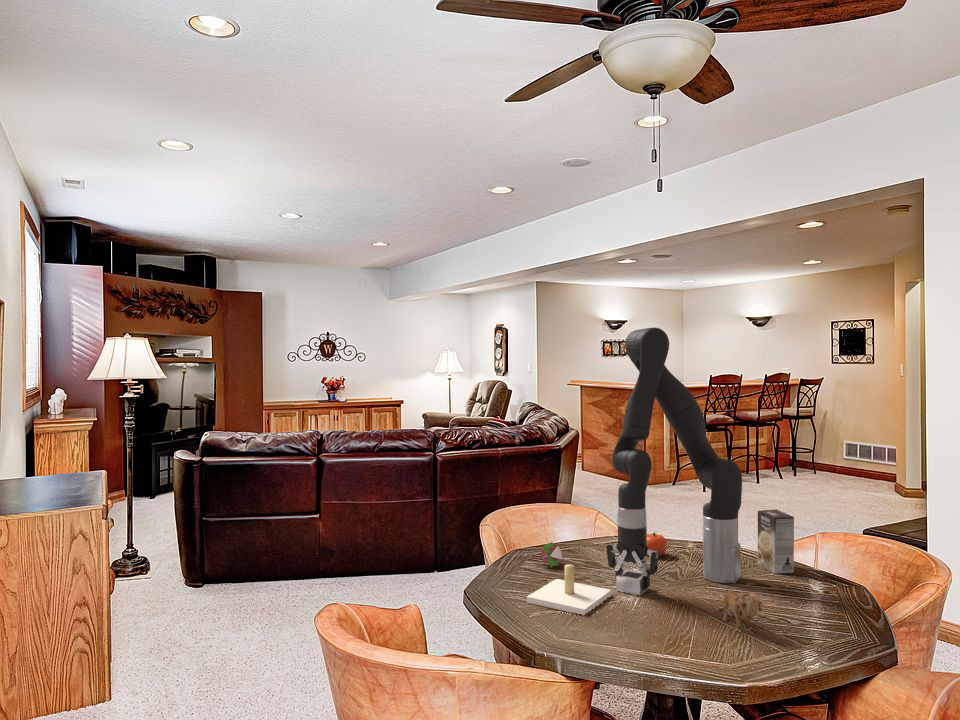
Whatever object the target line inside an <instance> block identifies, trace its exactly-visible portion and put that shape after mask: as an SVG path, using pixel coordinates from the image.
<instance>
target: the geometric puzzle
mask: <svg viewBox="0 0 960 720" xmlns="http://www.w3.org/2000/svg"><path fill="white" fill-rule="evenodd" d="M542 547H543V548H541V549H540V553H541V555H542V557H541V558H540V557H539V558H538V560H541V561H542V559H543V562H544V564H545V565H546V563H547V564H548V565H549V568H550V567H551V568H553V567H552V566H554V567H556V566H558V565H557V564H559V565H560V563H561V562H562V561H563V555H564V552H563V550H562V549H561V547H560V546H559V545H558V544H554V542H553V541H551V542H548V543H546V544H543V546H542ZM555 565H556V566H555Z"/></svg>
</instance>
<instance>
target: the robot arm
mask: <svg viewBox="0 0 960 720" xmlns="http://www.w3.org/2000/svg"><path fill="white" fill-rule="evenodd" d="M624 347H625V348H624V349H625V352H626V354H627V356H628V359H630V361H631V363H632V364H633V365H634V366H635V368H636V369H637V370H638V372H639V373H638V377H637V379H636V382H635V385H634V387H633V389H632V391H631V393H630V396H629V397H628V400H627V402H626V406H625V411H624V416H623V423H622V431H621V433H620V434H619V437H618V440H617V441H616V444H615V446H614V449H613V452H612V455H611V456H612V458H611V459H612V460H611V462H612V466H613V469H615V471H616V472H617V473H620V474H623V475H628V476H629V479H628V482H627V483H626V482H625V483H622V484H620V486H619V487H618V493H617V495H618V496H617V498H618V506H617V507H618V509H617V517H616V518H617V519H616V522H617V543H616V544H614V543H612V542H611V543H609V544H607V545H606V556H607V566H608V568H611V569H614V571H615V577H616V576H617V575H619V574H620V573H622V572H623V571H624V569H623V567H624V565H625V564H626V563H633V564H635V565H637V566H638V568H639V569H640V572H642V573H643V576H642V578H643V590H646V589H648V587H649V588H650V586H651V576H653V575H656V573H657V572H658V565H659V557H660V556H659V551H658V550H655V551H652V550H649V549H648V547H647V534H648V532H647V531H648V530H647V527H648V524H647V521H648V520H647V519H648V518H647V509H646V492H647V487H648V484H649V480H650V475H651V472H652V467H653V466H652V459H651V456H650V455H649V453H648V451H645V450H643V449H638V448H636V447H637V445H638V443H639V442H641V441H646V440H648V438H649V437H650V436H649V435H650V432H651V424H652V415H653V411H654V404H655V400H656V401H657V403H658V405H659V406H660V408H661V411H662V412H663V414H664V416H665V418H666V419H667V421H668V423H669V425H670V427H671V428H672V430H673V432H674V433H675V435H676V437H677V438H678V440H679V442H680V444H681V445H682V447H683V448H684V450H685V452H686V454H687V456H688V459H689V461H690V463H691V466H692V468H693V470H694V472H695V474H696V477H697V479H698V480H699V482H700V484H701V485H703V486H704V487H705V488H707V489H709V490H710V500H709V502H707V503H704V504H703V506H702V553H703V554H702V555H703V556H702V559H703V561H702V564H703V565H702V566H703V567H702V570H703V575H702V576H703V577H704V579H705V580H708V581H711V582H714V583H722V584H723V583H724V584H736V583H737V582H738V581H739V580H740V579H741V577H742V575H741V569H742V568H741V543H740V542H739V511H740V509H741V506H742V494H743V491H742V490H743V476H742V470H741V468H740V466H739V464H737V463H736V462H734V461H733V460H729V459H726V458H721V457H720V456H719V455H718V454H717V452H716V451H715V449H714V448H713V446H712V445H711V443H710V442H709V439H708V436H707V434H706V430H707V429H706V422H705V417H704V413H703V411H702V409H701V407H700V405H699V403H698V402H697V399H696V397H694V394H693V393H692V392H691V390H689V389H688V387H687V386H686V385H685V384H684V383H682V382H681V380H679V379H678V378H677V377H676V376H674V374H673V373H672V372H670V371H669V369H668V368H667V367H666V364H665V363H666V360H667V358H668V354H669V351H670V340H669V337H668V335H667V332H665V331H664V330H663V329H661V328H659V327H646V328H641V329H636V330H633V331H630V332H629V333H628V335H627V336H626V338H625V341H624ZM616 552H618V554H619V555H620V556H619V558H618V560H616ZM647 554H648V555H647ZM646 556H648V559H650V563H649V565H648V560H647V558H646ZM648 590H649V589H648ZM646 591H647V590H646Z"/></svg>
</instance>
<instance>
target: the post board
mask: <svg viewBox="0 0 960 720" xmlns="http://www.w3.org/2000/svg"><path fill="white" fill-rule="evenodd" d="M608 597H609V598H610V597H612V589H609V588H604V587H599V586H594V585H590V584H585V583H580V582H579V583H578V582H575V565H574V564H571V563H569V564H565V565H564V579H558V578H556V579H554V580H552V581H550V582H549V583H546V584H545V585H544V586H542V587H540V588H538V589H537V590H535V591H534V592H532V593H530V594H529V595H527V596H526V603H528V604H532V605H536V606H541V607H544V608H550V609H554V610H558V611H563V612H567V613H570V614H575V613H577V614H576V615H579V614H582V615H581V616H584V615H585V614H586V613H588V612H589V611H590V612H592V611H593V610H595V607H596V606H597V607H598V606H600V605H601V604H602V603H603V601H604V600H605V601H606V600H608V599H609V598H608ZM607 598H608V599H607ZM605 601H604V602H605ZM600 603H601V604H600ZM599 604H600V605H599ZM597 607H596V608H597ZM592 609H593V610H592ZM591 610H592V611H591ZM590 612H589V613H590ZM589 613H588V614H589ZM586 615H587V614H586ZM586 615H585V616H586Z"/></svg>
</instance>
